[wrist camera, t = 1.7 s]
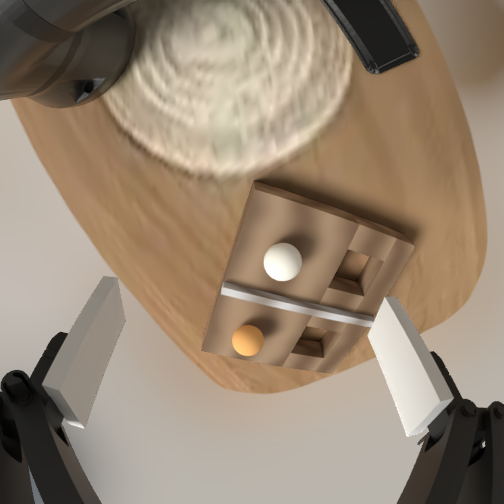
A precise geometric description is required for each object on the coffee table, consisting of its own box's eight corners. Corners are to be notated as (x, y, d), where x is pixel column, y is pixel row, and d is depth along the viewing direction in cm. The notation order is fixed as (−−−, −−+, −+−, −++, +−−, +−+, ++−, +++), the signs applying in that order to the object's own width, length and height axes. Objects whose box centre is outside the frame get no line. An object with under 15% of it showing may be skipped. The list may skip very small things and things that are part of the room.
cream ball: (257, 263, 33) (259, 283, 30) (269, 232, 32) (272, 249, 28) (290, 272, 34) (295, 292, 31) (304, 242, 32) (311, 260, 29)
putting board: (203, 333, 43) (200, 356, 39) (253, 180, 32) (255, 192, 28) (328, 358, 47) (333, 379, 42) (403, 233, 36) (419, 250, 32)
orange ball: (229, 336, 39) (228, 358, 35) (237, 315, 37) (236, 337, 33) (257, 342, 39) (258, 364, 36) (267, 322, 38) (269, 344, 34)
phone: (373, 76, 26) (298, -30, 20) (369, 77, 27) (297, -27, 21) (422, 55, 24) (354, -46, 18) (417, 56, 25) (351, -43, 19)
